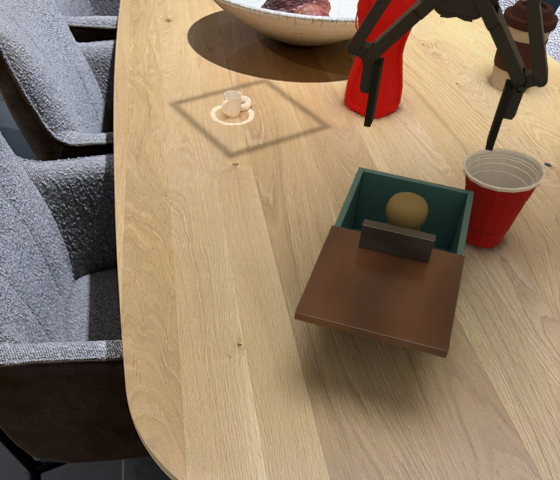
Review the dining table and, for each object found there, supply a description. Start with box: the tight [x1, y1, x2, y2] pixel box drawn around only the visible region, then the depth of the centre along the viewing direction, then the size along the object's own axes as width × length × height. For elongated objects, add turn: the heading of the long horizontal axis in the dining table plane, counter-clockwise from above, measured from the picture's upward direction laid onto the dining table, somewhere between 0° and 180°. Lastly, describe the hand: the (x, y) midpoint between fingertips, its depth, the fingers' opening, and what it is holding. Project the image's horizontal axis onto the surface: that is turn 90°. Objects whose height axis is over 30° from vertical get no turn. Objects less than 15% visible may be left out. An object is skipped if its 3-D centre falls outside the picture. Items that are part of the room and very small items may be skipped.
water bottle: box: [344, 0, 417, 119], centre depth 104 cm, size 9×11×25 cm
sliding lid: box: [293, 219, 466, 359], centre depth 64 cm, size 16×16×4 cm
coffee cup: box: [489, 0, 559, 92], centre depth 117 cm, size 10×10×15 cm
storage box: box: [333, 166, 474, 255], centre depth 79 cm, size 16×16×10 cm
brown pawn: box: [386, 192, 428, 231], centre depth 78 cm, size 6×6×11 cm
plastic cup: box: [462, 147, 547, 250], centre depth 85 cm, size 11×11×12 cm
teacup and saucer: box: [209, 90, 256, 127], centre depth 107 cm, size 9×8×4 cm
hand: (428, 133), depth 68 cm, fingers open, 13 cm apart
